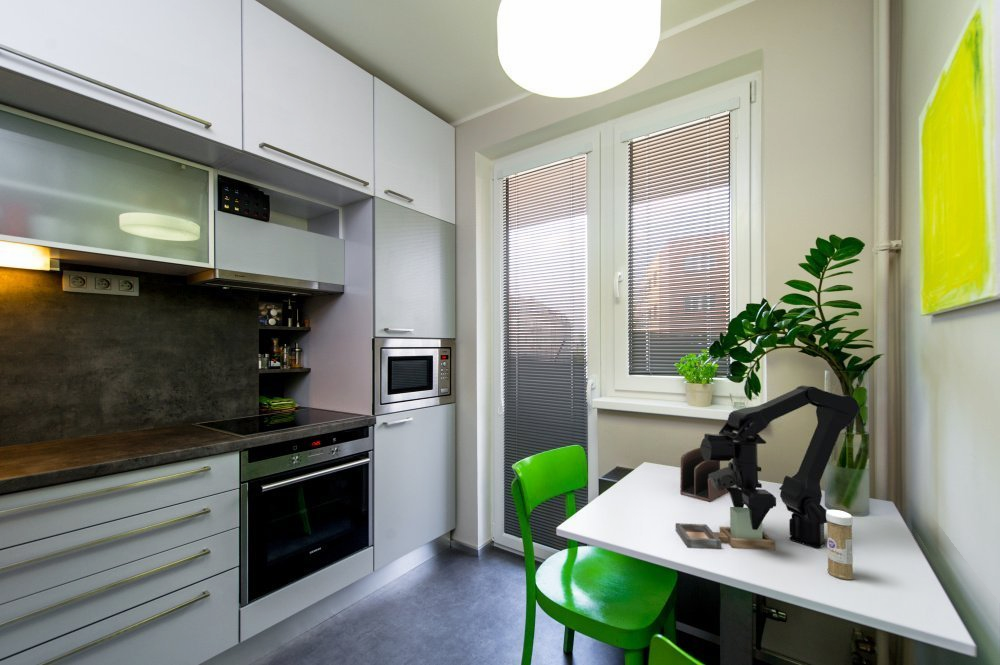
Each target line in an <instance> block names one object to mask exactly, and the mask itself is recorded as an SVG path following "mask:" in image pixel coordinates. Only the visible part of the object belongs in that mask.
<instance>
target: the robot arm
mask: <svg viewBox="0 0 1000 665" xmlns="http://www.w3.org/2000/svg"><path fill="white" fill-rule="evenodd" d="M806 405H811V406H814V407H816V408H815V413H816V420H817V425H816V427H815V429H814V432H813V434H812V437H811V439H810V442H809V444H808V447H807V449H806V451H805V454H804V456H803V459H802V461H801V464H800V466H799V469H798V471H797V473H795V474H794V475H792V477H791V476H788V475H785V476H784V478H783V483H782V485H781V486H780V487H779V490H780V493H779V496H780V499H781V501H782V503H783V504H784V505H785V507H786V509H787V511H788V512H790V513H791V518H790V519H789V535H790V537H789V540H790V541H792V542H796V543H799V544H803V545H806V546H809V547H812V548H815V549H821V548H822V547H823V546H824V545H825V544H827V542H828V539H827V538H825V524H827V519H826V511H827V509H826V508H825V507H824V506H822V505H821V503H822V497H823V494H822V488H821V487H822V486H821V480H822V478H823V476H824V473H825V471H826V468H827V466H828V463H829V460H830V458H831V456H832V454H833V451H834V448H835V446H836V443H837V441H838V438H839V436H840V434H841V432H842V430H844V429H846V428H847V427H849V425H851V424H852V423H853V421H854V420H855V419H856V417H857V416H858V414H859V412H860V405H859V403H858V401H857V399H856V398H854V397H853V396H850V395H845V394H837V393H833V392H829V391H826V390H822V389H821V388H818V387H817V386H810V385H804V384H803V385H800V386H796V388H795V389H792V390H791V391H788V392H786V393H784V394H782V395H779V396H777V397H775V398H773V399H770V400H768V401H767V402H764V403H762V404H759V405H755V406H749V407H743V408H739V409H735V410H733V411H732V412H730V413H729V414H728V418H727V421H726V422H725V423H724V425H723V426H722V428H721V429H720V430H719V432H718V433H717V434H711V433H704V436H703V437H704V438H703V439H702V440H701V444H700V446H699V448H700V450H701V454H702V457H703V458H704V460H705V461H720V462H728V464H727V467H728V468H727V469H722V468H721V469H722V470H719V471H716V472H713V473H710V474H709V475H708V476H709V478H710V481H711V483H712V486H713V487H715V488H716V490H718V491H721V490H724V489H726V490H727V491H728V494H729V496H730V499H731V503H732V505H733V506H732V507H743V508H745V506H746V508H749V514H750V520H751V526H752V529H753V530H757V529H758V528H759V526H760V524H761V523H762V524H763V520H764V519H765V517H767V515H768V513H769V512H770V510H771V509H773V508H775V507H777V497H775V495H774V494H773V493H771V492H769V491H768V490H766V489H762V488H763V487H762V486H763V485H762V483H761V482H759V472H762V466H760V465H759V461H758V458H759V456H758V455H759V454H758V445H766V444H767V440H765V439H764V438H762V436H760V434H759V433H761V432H763V431H764V430H765V429H767V427H768V426H769V424H770V423H771V422H773V421H775V420H776V419H778V418H779V419H780V418H781V417H783V416H785V415H787V414H789V413H793V412H794V411H796V410H798V409H800V408H803V407H806Z"/></svg>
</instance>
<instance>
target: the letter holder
mask: <svg viewBox="0 0 1000 665" xmlns="http://www.w3.org/2000/svg"><path fill="white" fill-rule="evenodd" d="M727 468H728V466H726V467H725V466H724V467H723V468H721V461H705V460H704V458H703V457H702V454H701V450H700V447H697V448H694V449H692V450H690V451H687V452H685V453H684V454H683V455H681V458H680V490H679V491H680V493H679V494H680V495H681V496H684V497H688V498H692V499H696V500H700V501H704V502H708V503H711V502H713V501H715V500H716V499H718V498H720V497H721V496H724V495H726V494H727V493H728V494H729V492H728V491H727V490H726V489H724V490H721V491H718V490H716V488H715V487H713V486H712V483H711V481H710V478H709V476H708V475H709V474H710V473H713V472H716V471H719V470H722V469H727Z"/></svg>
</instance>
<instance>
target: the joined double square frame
mask: <svg viewBox="0 0 1000 665" xmlns="http://www.w3.org/2000/svg"><path fill="white" fill-rule="evenodd" d="M675 532H676V533H677V535H678V536H679V537H680V539H681V541H682V543H684V545H685V546H686V548H690V549H709V550H710V549H712V550H713V549H714V550H722V544H728V546H730V547H731V548H732V549H744V550H765V551H776V541H775V540H773V538H771V536H769V535H768V534H767V533H765V531H763V530H762V539H741V538H734V537H733V536H732V535H731V529H730V526H719V531H713V530H712V529H711V527H709V526H708V525H707V524H704V523H702V524H701V523H680V522H679V523H678V522H675Z"/></svg>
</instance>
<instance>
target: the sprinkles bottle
mask: <svg viewBox="0 0 1000 665" xmlns="http://www.w3.org/2000/svg"><path fill="white" fill-rule="evenodd" d="M826 510H827V509H826ZM826 519H827V523H826V524H827V525H826V527H827V528H826V532H827V536H826V537H827V538H826V539H827V542H826V547H827V548H826V550H827V551H826V552H827V556H826V557H827V573H829V575H831V576H832V577H835V578H836V579H840V580H846V581H847V580H852V579H854V571H853V568H854V567H853V564H854V563H853V562H854V559H853V558H854V556H853V553H854V552H853V550H854V549H853V536H852V535H853V533H852V532H853V531H852V530H853V529H852V527H853V524H854V523H853V522H854V521H853V515H851V513H848V512H847V511H843V510H838V509H828V510H827V511H826Z"/></svg>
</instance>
